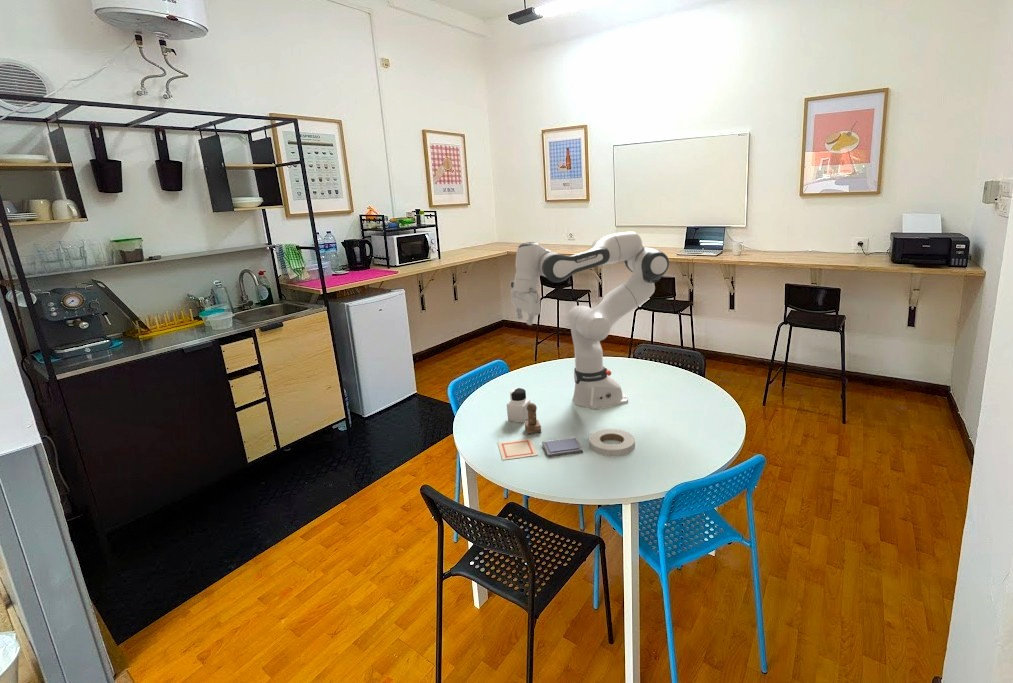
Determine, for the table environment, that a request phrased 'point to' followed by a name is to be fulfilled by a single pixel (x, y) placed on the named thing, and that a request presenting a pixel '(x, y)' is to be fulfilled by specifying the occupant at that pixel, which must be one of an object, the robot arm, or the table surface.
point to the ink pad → (562, 447)
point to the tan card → (517, 449)
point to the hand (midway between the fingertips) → (524, 321)
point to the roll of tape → (608, 449)
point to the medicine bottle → (518, 406)
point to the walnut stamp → (532, 420)
